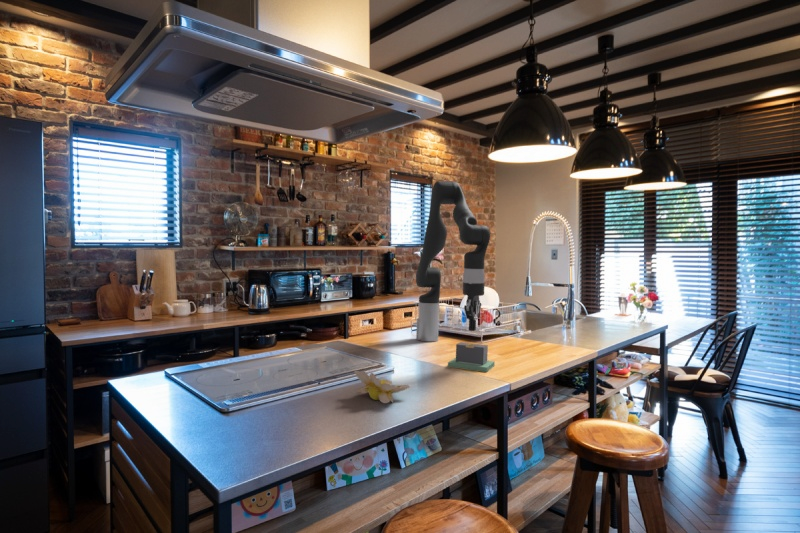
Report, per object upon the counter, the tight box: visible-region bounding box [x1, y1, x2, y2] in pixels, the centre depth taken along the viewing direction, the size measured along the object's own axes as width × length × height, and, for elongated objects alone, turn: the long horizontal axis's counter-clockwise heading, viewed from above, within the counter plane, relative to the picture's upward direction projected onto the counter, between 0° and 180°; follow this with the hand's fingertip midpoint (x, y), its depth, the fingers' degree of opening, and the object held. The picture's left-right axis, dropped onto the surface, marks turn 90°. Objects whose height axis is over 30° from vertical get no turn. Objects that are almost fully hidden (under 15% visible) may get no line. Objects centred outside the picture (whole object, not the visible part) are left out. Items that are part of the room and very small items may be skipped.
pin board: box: [447, 357, 495, 373], centre depth 159 cm, size 14×10×6 cm
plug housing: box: [455, 341, 489, 365], centre depth 159 cm, size 10×5×6 cm, turn 63°
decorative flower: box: [353, 370, 412, 404], centre depth 122 cm, size 15×11×10 cm
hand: (472, 330), depth 159 cm, fingers closed
